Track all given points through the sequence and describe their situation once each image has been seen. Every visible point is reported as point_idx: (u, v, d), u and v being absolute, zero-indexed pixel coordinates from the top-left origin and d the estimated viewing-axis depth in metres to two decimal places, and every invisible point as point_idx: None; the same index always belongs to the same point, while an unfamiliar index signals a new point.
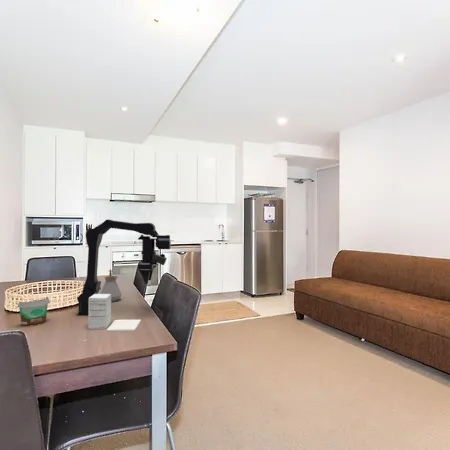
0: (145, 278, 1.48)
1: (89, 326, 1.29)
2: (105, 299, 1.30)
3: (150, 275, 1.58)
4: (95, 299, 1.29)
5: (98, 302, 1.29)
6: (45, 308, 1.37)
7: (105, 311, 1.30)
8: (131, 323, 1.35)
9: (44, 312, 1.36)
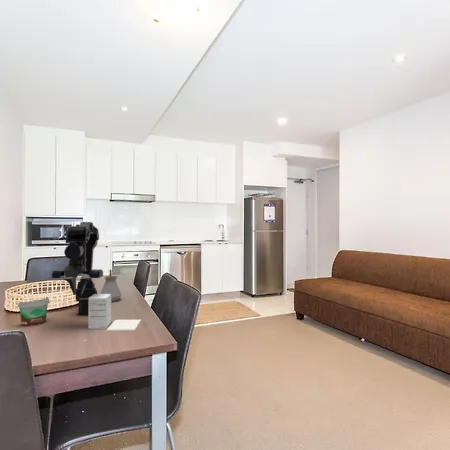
0: None
1: (89, 326, 1.29)
2: (105, 299, 1.30)
3: None
4: (95, 299, 1.29)
5: (98, 302, 1.29)
6: (45, 308, 1.37)
7: (105, 311, 1.30)
8: (131, 323, 1.35)
9: (44, 312, 1.36)
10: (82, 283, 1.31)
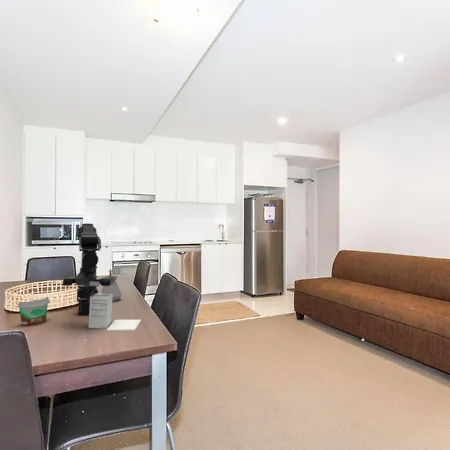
0: None
1: (89, 325, 1.29)
2: (107, 299, 1.30)
3: None
4: (97, 298, 1.29)
5: (99, 301, 1.29)
6: (45, 308, 1.37)
7: (106, 311, 1.30)
8: (131, 323, 1.35)
9: (44, 312, 1.36)
10: (89, 291, 1.31)
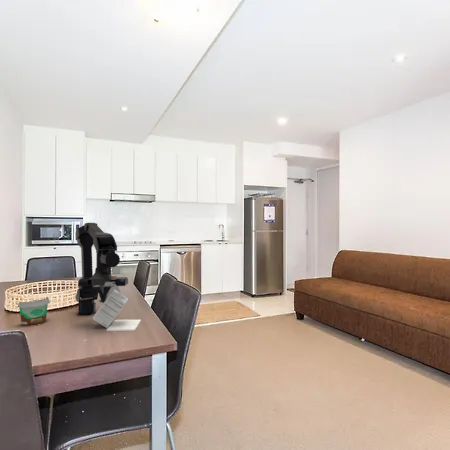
0: None
1: (94, 317, 1.29)
2: (123, 303, 1.31)
3: None
4: (115, 298, 1.30)
5: (116, 301, 1.30)
6: (45, 308, 1.37)
7: (116, 313, 1.30)
8: (131, 323, 1.35)
9: (44, 312, 1.36)
10: (105, 291, 1.32)
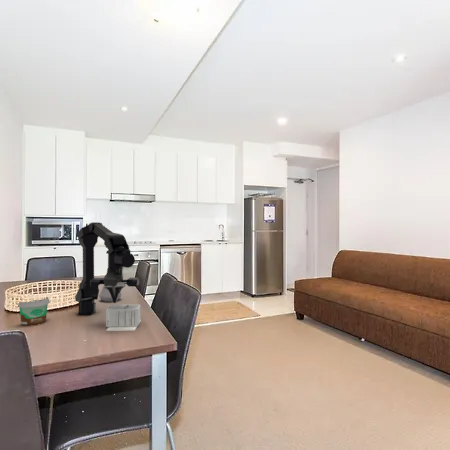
0: None
1: (108, 310, 1.30)
2: (136, 325, 1.31)
3: None
4: (136, 315, 1.31)
5: (133, 318, 1.31)
6: (45, 308, 1.37)
7: (123, 325, 1.31)
8: None
9: (44, 312, 1.36)
10: (117, 291, 1.32)
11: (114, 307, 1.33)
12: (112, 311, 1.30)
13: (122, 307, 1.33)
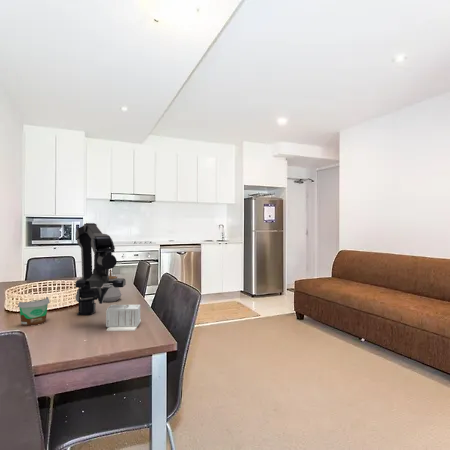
0: None
1: (108, 310, 1.30)
2: (136, 325, 1.31)
3: None
4: (136, 315, 1.31)
5: (133, 318, 1.31)
6: (45, 308, 1.37)
7: (123, 325, 1.31)
8: None
9: (44, 312, 1.36)
10: (103, 292, 1.32)
11: (114, 307, 1.33)
12: (112, 311, 1.30)
13: (122, 307, 1.33)
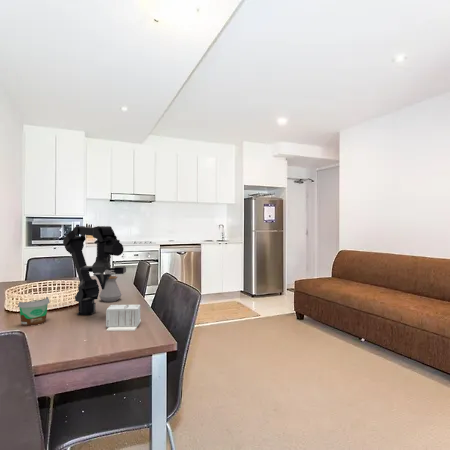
0: None
1: (108, 310, 1.30)
2: (136, 325, 1.31)
3: None
4: (136, 315, 1.31)
5: (133, 318, 1.31)
6: (45, 308, 1.37)
7: (123, 325, 1.31)
8: None
9: (44, 312, 1.36)
10: (105, 278, 1.42)
11: (114, 307, 1.33)
12: (112, 311, 1.30)
13: (122, 307, 1.33)
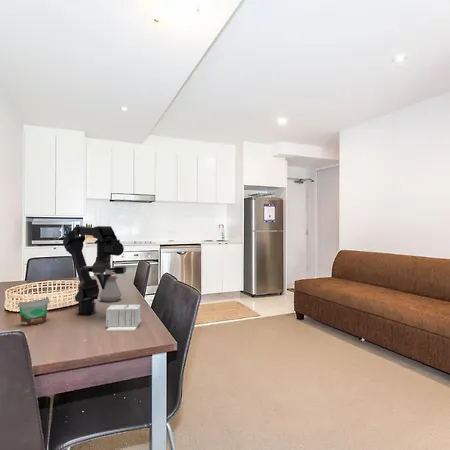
0: None
1: (108, 310, 1.30)
2: (136, 325, 1.31)
3: None
4: (136, 315, 1.31)
5: (133, 318, 1.31)
6: (45, 308, 1.37)
7: (123, 325, 1.31)
8: None
9: (44, 312, 1.36)
10: (105, 278, 1.42)
11: (114, 307, 1.33)
12: (112, 311, 1.30)
13: (122, 307, 1.33)
